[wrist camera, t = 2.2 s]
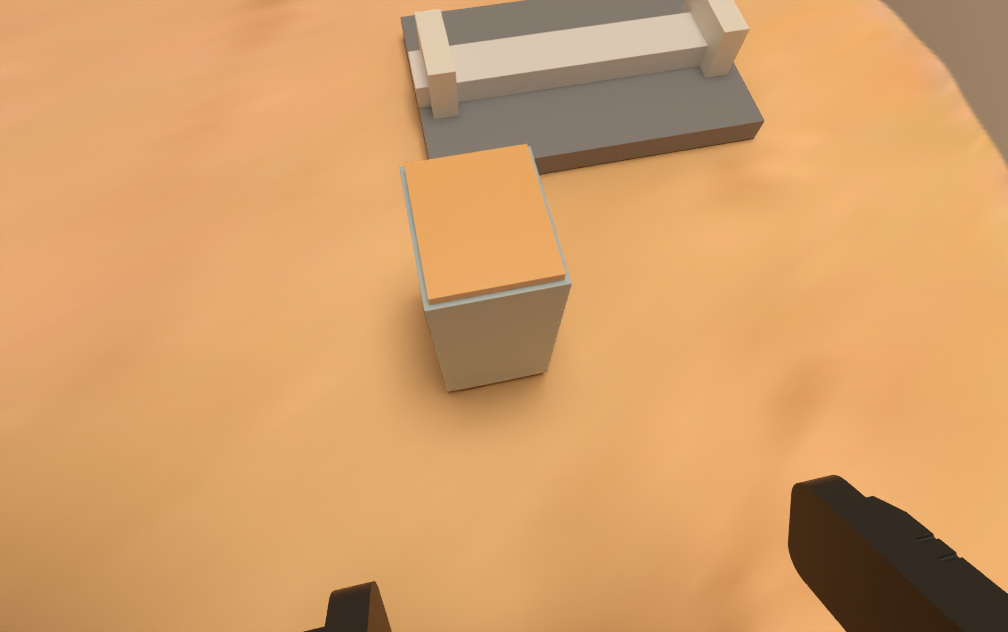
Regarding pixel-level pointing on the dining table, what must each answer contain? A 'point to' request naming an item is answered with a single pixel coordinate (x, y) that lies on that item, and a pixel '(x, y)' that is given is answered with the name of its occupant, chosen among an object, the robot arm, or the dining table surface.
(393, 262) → the dining table surface
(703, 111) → the mounting board
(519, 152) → the plate
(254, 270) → the dining table surface
